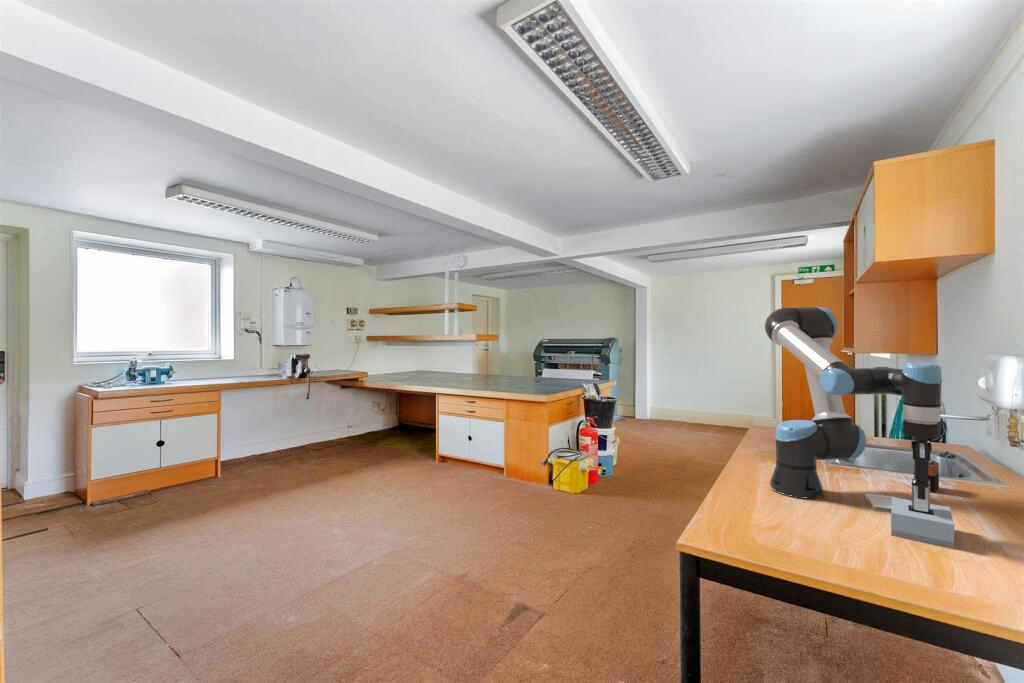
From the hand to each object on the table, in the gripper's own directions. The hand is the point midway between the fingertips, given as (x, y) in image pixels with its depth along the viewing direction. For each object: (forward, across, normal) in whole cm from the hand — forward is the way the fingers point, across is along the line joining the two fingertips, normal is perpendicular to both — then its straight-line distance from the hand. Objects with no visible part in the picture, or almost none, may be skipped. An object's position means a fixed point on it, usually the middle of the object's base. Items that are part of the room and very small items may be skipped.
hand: (920, 507), depth 121 cm
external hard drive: (+7, +18, +8) cm, 21 cm away
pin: (+5, 0, 0) cm, 5 cm away
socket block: (+7, 0, 0) cm, 7 cm away
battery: (+7, +43, -3) cm, 44 cm away
